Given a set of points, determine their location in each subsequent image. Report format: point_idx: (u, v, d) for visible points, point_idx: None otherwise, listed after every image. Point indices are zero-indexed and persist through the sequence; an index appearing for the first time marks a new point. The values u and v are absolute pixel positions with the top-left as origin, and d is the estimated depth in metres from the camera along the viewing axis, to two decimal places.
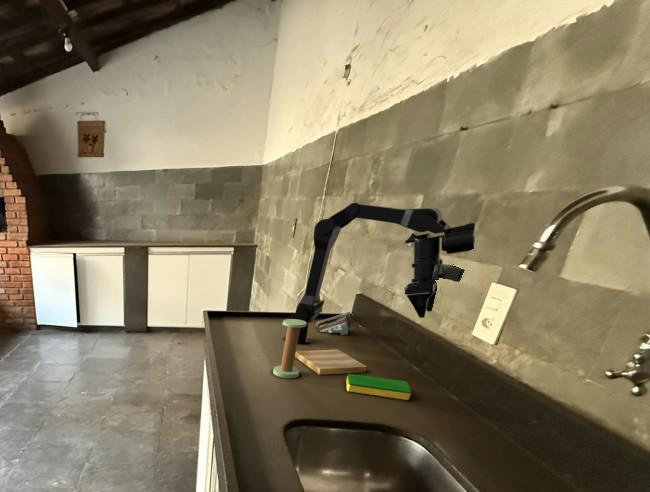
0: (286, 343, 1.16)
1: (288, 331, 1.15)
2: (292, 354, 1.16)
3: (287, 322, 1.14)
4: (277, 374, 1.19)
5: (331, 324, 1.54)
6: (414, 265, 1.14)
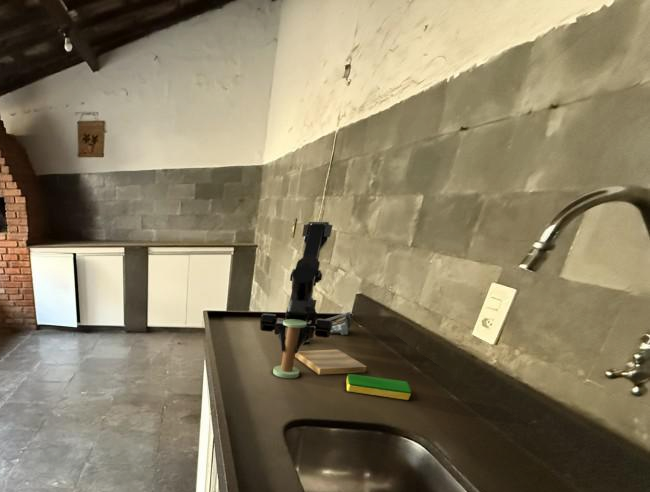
0: (286, 343, 1.16)
1: (288, 331, 1.15)
2: (292, 354, 1.16)
3: (287, 322, 1.14)
4: (277, 374, 1.19)
5: None
6: None
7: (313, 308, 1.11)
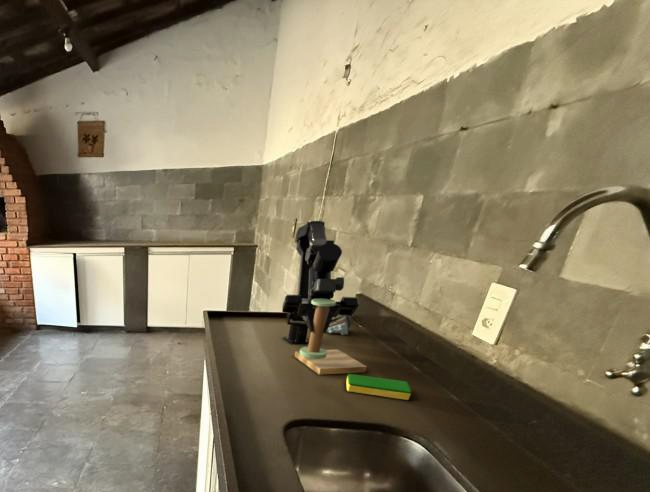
0: (315, 323, 1.14)
1: (317, 311, 1.12)
2: (321, 334, 1.15)
3: (317, 301, 1.11)
4: (306, 355, 1.17)
5: (331, 324, 1.54)
6: (308, 291, 1.21)
7: (342, 286, 1.10)
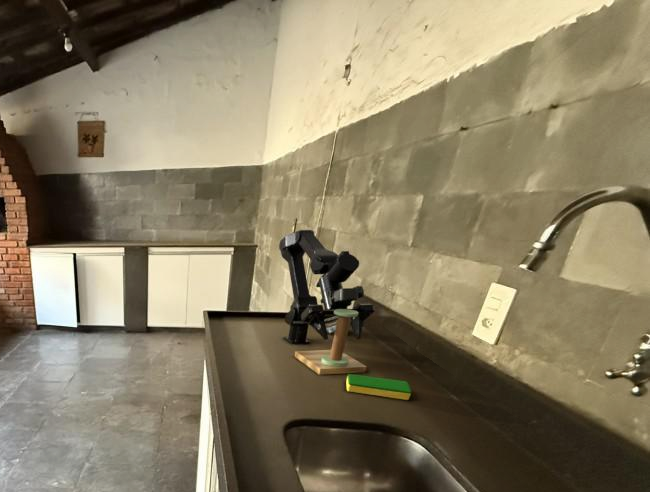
0: (339, 333, 1.18)
1: (341, 321, 1.16)
2: (344, 343, 1.19)
3: (342, 312, 1.15)
4: (332, 364, 1.20)
5: (331, 324, 1.54)
6: (321, 300, 1.25)
7: (362, 294, 1.15)
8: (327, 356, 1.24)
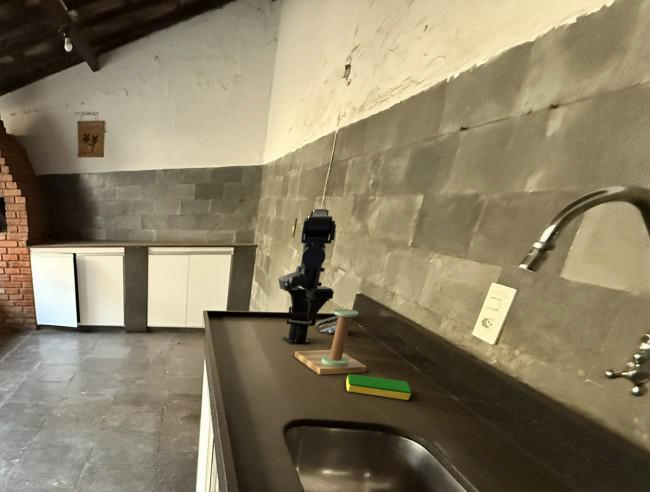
0: (339, 333, 1.18)
1: (341, 321, 1.16)
2: (344, 343, 1.19)
3: (342, 312, 1.15)
4: (332, 364, 1.20)
5: (331, 324, 1.54)
6: None
7: (291, 286, 1.19)
8: (327, 356, 1.24)
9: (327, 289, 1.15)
